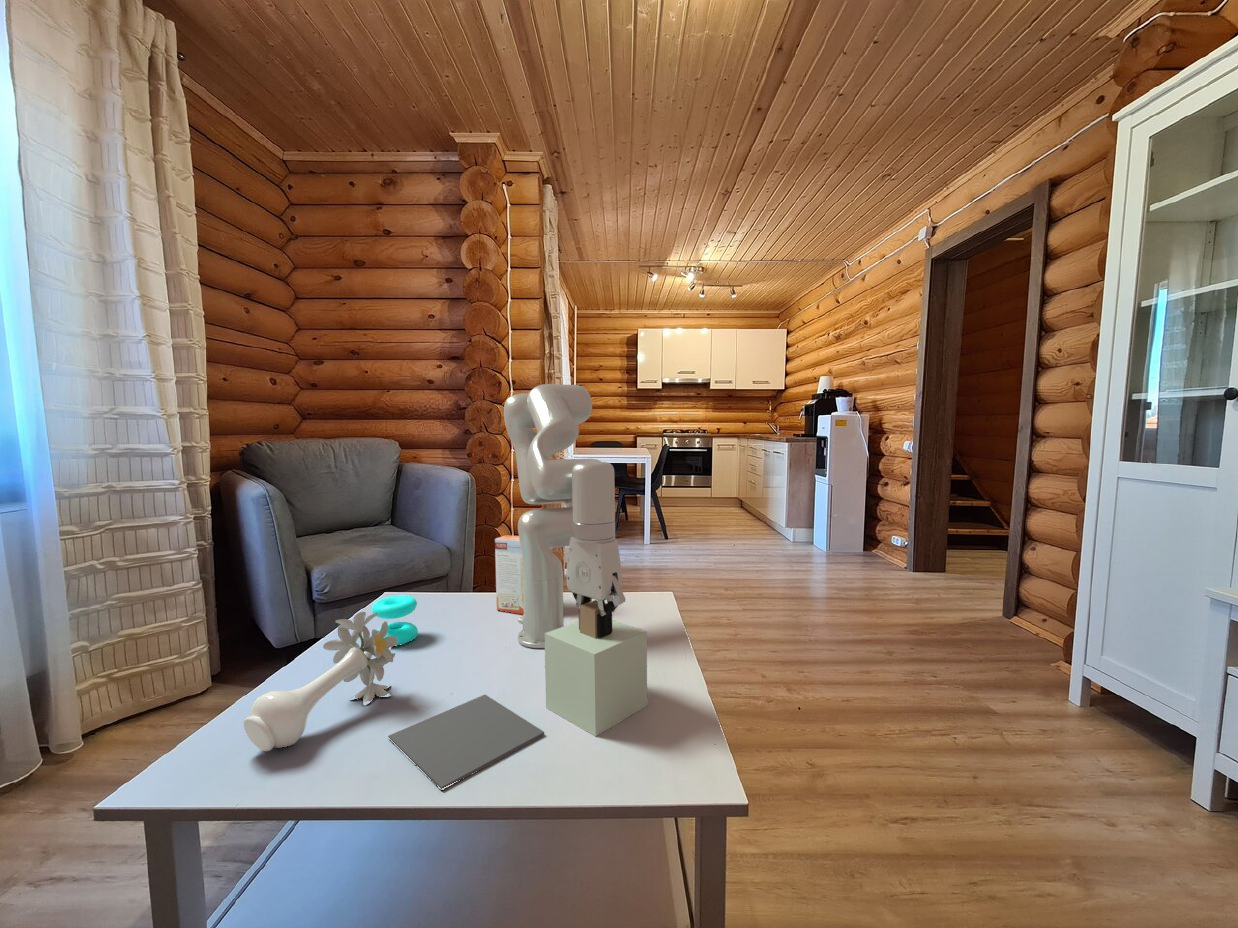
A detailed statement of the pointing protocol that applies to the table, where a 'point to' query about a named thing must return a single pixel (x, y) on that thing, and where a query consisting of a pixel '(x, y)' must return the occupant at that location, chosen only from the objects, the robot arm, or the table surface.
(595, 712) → the pale green block
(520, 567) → the cracker box
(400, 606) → the donuts
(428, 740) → the mat
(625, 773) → the table surface
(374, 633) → the flower vase
